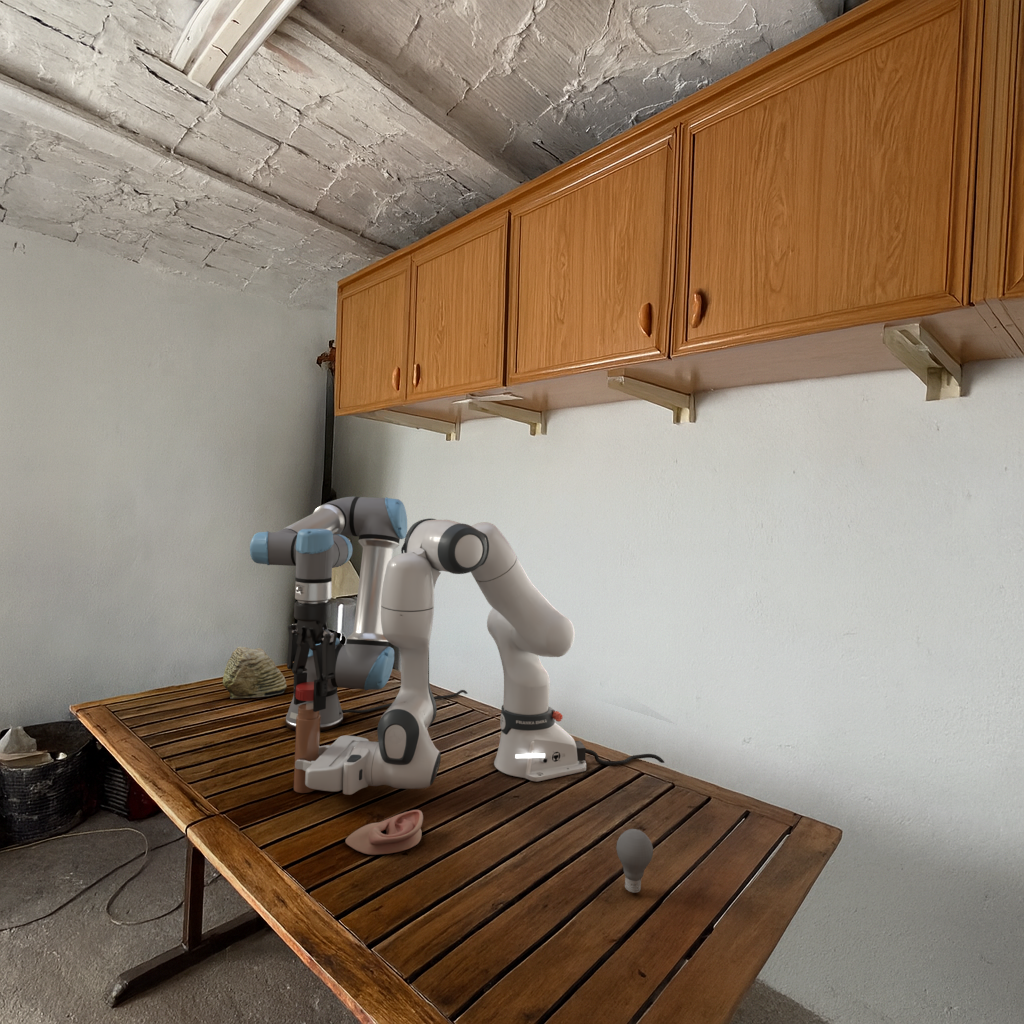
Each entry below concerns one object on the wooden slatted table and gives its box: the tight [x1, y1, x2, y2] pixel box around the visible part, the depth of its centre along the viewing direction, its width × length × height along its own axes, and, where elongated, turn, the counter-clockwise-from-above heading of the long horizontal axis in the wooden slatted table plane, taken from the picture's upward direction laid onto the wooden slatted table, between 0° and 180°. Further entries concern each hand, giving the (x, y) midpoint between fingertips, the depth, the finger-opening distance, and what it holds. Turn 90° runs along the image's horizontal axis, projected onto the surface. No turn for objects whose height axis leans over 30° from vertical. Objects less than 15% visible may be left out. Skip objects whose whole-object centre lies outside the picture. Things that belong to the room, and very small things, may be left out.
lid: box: [295, 682, 314, 701], centre depth 137 cm, size 6×6×2 cm
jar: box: [293, 703, 321, 794], centre depth 137 cm, size 5×5×18 cm
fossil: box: [222, 646, 288, 699], centre depth 198 cm, size 9×18×15 cm, turn 132°
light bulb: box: [615, 828, 654, 894], centre depth 106 cm, size 6×6×10 cm
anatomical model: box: [344, 809, 424, 856], centre depth 118 cm, size 13×4×12 cm
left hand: (309, 706), depth 138 cm, fingers closed on lid, 6 cm apart
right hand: (302, 757), depth 137 cm, fingers closed on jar, 5 cm apart
